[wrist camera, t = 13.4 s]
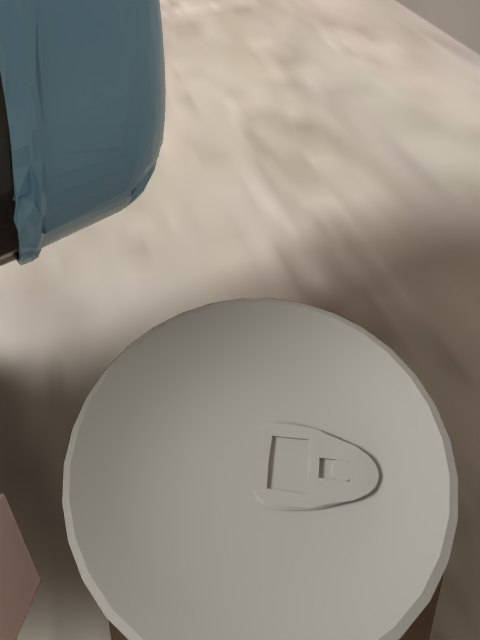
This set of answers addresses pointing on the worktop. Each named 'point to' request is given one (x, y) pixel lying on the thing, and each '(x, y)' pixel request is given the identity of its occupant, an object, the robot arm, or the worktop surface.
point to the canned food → (260, 481)
